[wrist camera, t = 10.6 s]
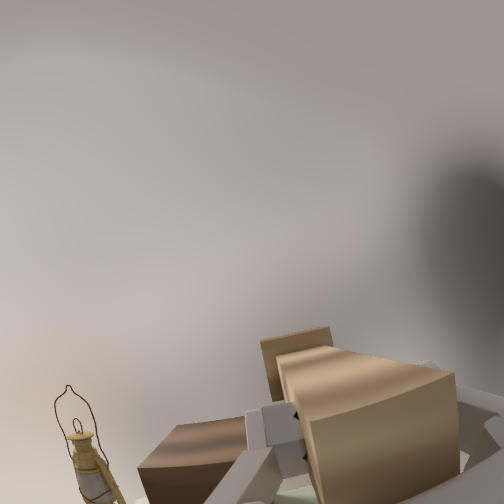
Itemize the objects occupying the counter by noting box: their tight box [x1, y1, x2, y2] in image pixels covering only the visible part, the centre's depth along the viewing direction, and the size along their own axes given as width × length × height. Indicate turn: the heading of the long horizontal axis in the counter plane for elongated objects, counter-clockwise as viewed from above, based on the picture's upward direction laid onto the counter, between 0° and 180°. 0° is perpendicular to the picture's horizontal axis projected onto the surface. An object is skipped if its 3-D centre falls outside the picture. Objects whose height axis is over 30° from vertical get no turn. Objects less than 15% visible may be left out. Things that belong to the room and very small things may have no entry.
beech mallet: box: [260, 327, 460, 504], centre depth 14 cm, size 19×4×4 cm, turn 178°
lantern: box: [54, 385, 126, 504], centre depth 42 cm, size 12×10×30 cm
